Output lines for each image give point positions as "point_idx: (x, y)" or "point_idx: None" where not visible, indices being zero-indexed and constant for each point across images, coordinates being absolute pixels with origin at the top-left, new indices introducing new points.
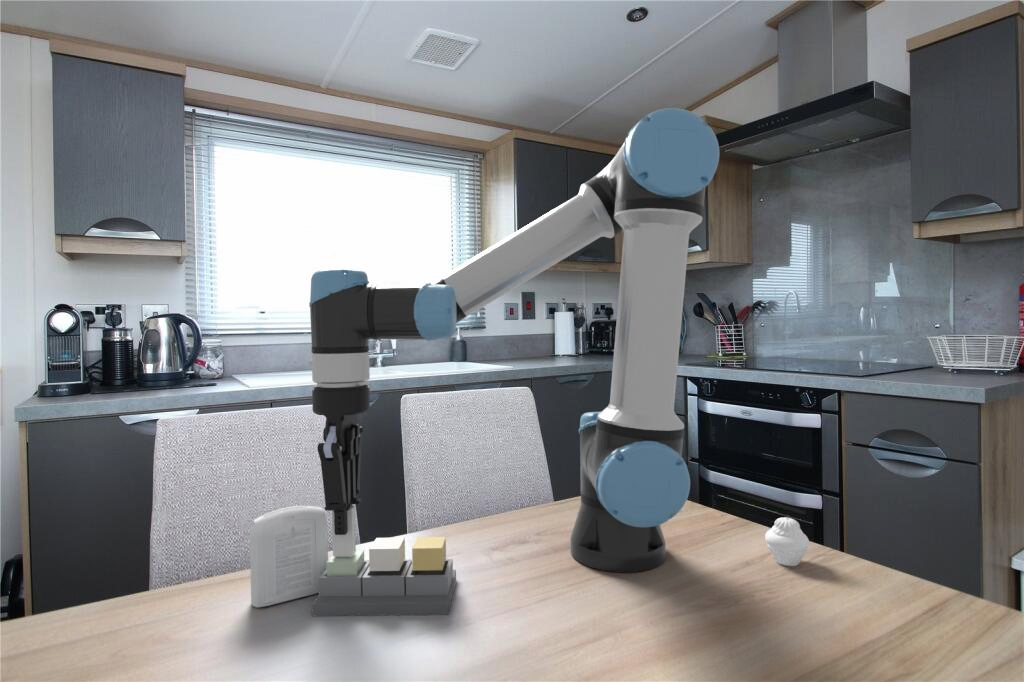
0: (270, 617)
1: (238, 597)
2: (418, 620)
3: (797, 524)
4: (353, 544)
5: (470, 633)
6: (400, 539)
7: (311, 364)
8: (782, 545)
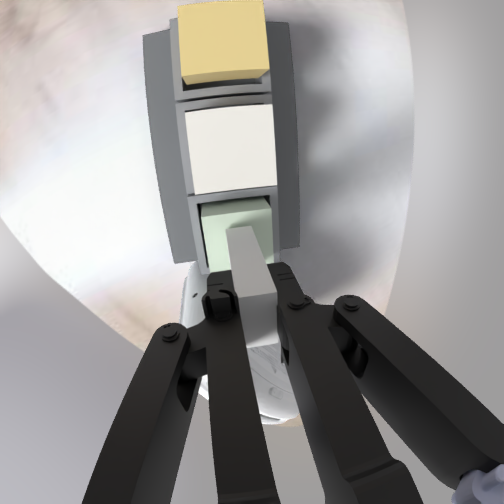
0: None
1: None
2: (303, 69)
3: None
4: (246, 237)
5: (332, 2)
6: (201, 119)
7: None
8: None
